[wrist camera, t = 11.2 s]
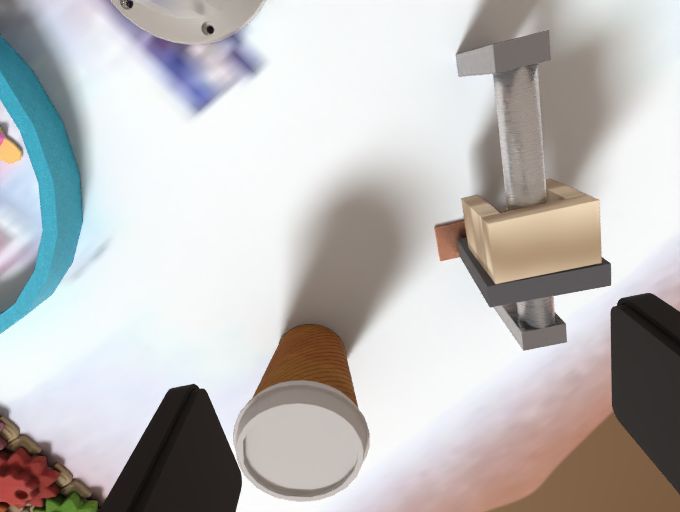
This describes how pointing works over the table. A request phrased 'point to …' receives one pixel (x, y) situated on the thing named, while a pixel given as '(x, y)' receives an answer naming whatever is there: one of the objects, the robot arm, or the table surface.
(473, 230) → the sleeve
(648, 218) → the table surface
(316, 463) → the disposable coffee cup
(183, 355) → the table surface
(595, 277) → the dark grey u-shaped piece
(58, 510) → the gear puzzle
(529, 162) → the grey long flanged piece
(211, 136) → the table surface
